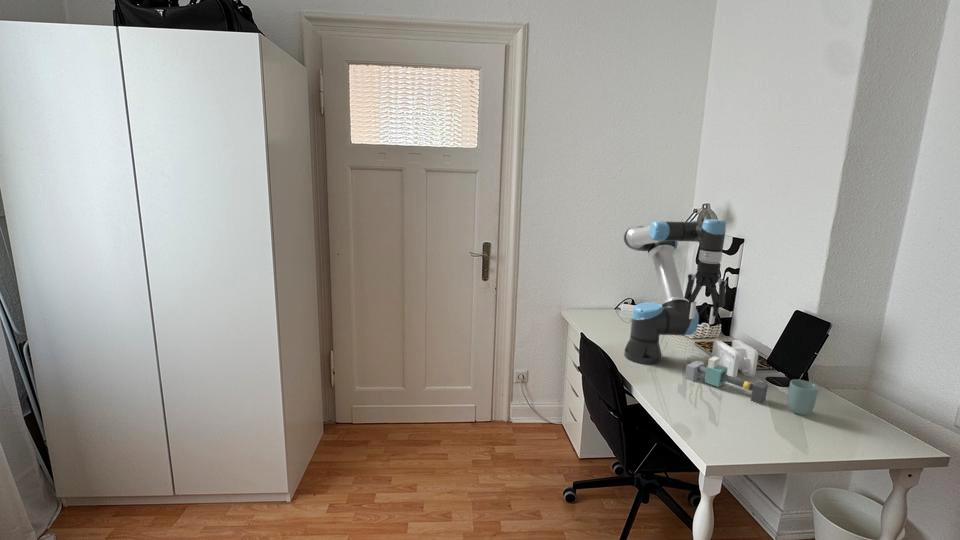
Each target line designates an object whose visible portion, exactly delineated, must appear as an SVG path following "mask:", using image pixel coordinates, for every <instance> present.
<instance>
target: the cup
mask: <svg viewBox="0 0 960 540" xmlns="http://www.w3.org/2000/svg"><path fill="white" fill-rule="evenodd" d="M818 393H819V387H818V386H817V384H815V383H813V382H810V381H807V380H804V379H795V378H794V379H791V380H790V381H789V387H788V391H787V400H786V403H787V406H788V409H789V410H790V411H791V412H793V413H794V414H796V415H800V416H801V415H802V416H808V415H810V414H812V412H813V411H814V409H815V406H816V403H817V397H818Z"/></svg>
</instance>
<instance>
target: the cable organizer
mask: <svg viewBox="0 0 960 540" xmlns="http://www.w3.org/2000/svg"><path fill="white" fill-rule="evenodd" d="M714 356H715V357H718V358H720V359H719V365H721V366H724V367H727V368H728V369H727V375H728V376H731V377H734V378H737V377H738V371H740V372H741V374H743V375H745V376H746V375H747V376H746V377H748V376H749V377H754V376H756V371H757V367H758V366H757V365H758V361H759V352H758V350H757V349H755V348H753V347H752V346H750V345H749V344H746V343H745V342H743V341H741V340H739V339H733V340H732V342H731V346H730V345H728V344H727V343H725V342H723V341H722V340H719V339H718V340H714V341H713V343H712V350H711V356H710V358H712V357H714Z"/></svg>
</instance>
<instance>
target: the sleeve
mask: <svg viewBox="0 0 960 540" xmlns="http://www.w3.org/2000/svg"><path fill="white" fill-rule="evenodd" d="M719 359H720V358H718V357H715V356H714V357H712V358H711V357H710V358H708V362H707V363H708V364H707V366H706V368H707V369H706V374H705V378H704V383H707V384H710V385H713V386H715V387H716V388H717V387H721V386H722V385H724V384H726V381H723V380H721V375H722V374H725V375H727V369H728V368H727V367H724V366H721V365H719Z"/></svg>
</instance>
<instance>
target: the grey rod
mask: <svg viewBox="0 0 960 540" xmlns="http://www.w3.org/2000/svg"><path fill="white" fill-rule="evenodd" d="M706 369H707V367H705V366H704V367H702V366H699V367H698V370H697V371H698V372H700V373H703V374H704V375H706ZM721 380H723V381H726V382H727V383H729V384H731V385H735V386H737V387H739V388H740V387H741V388H743V389H744V390H747V391H751V392H752V389H753V385H754V384H755V383H751V382H749V381H746V380H742V379H741V378H740V379H739V378H737V377H735V378H734V377H731V376H728V375H725V374H722V375H721ZM726 382H725V383H726Z"/></svg>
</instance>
